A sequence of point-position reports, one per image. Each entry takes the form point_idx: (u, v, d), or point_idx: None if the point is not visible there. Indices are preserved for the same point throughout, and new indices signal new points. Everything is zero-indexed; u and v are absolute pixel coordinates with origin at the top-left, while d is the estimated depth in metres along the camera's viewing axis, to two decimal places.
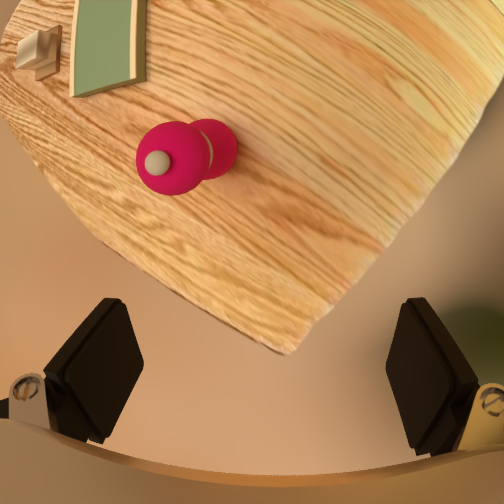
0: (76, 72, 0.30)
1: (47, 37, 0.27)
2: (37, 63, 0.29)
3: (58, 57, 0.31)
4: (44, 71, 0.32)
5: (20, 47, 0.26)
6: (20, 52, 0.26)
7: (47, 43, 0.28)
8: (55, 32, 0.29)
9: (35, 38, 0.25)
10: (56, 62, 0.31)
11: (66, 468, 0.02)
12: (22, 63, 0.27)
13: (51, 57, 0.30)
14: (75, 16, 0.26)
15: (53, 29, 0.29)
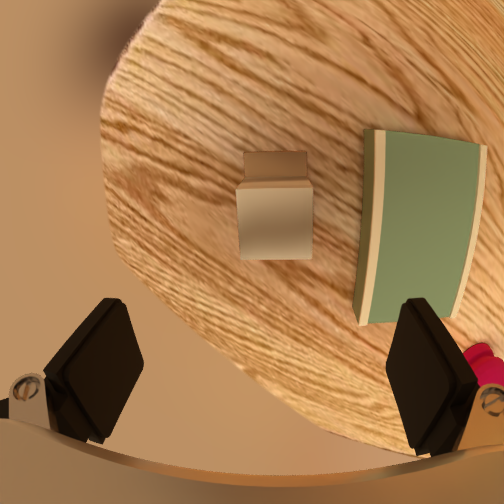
0: (375, 290, 0.24)
1: None
2: None
3: None
4: None
5: (247, 210, 0.20)
6: (253, 225, 0.20)
7: None
8: (299, 167, 0.23)
9: (304, 208, 0.19)
10: None
11: (66, 468, 0.02)
12: (263, 255, 0.21)
13: None
14: (381, 174, 0.20)
15: (292, 157, 0.23)
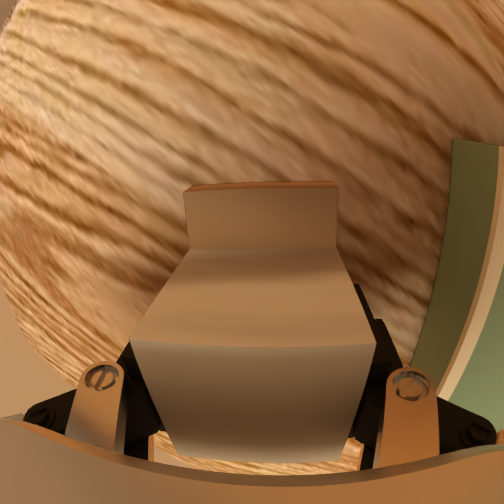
0: None
1: None
2: None
3: None
4: None
5: (173, 388, 0.06)
6: (195, 416, 0.07)
7: None
8: (319, 226, 0.10)
9: (339, 389, 0.06)
10: None
11: (66, 468, 0.02)
12: (226, 456, 0.07)
13: None
14: (501, 252, 0.07)
15: (302, 201, 0.09)
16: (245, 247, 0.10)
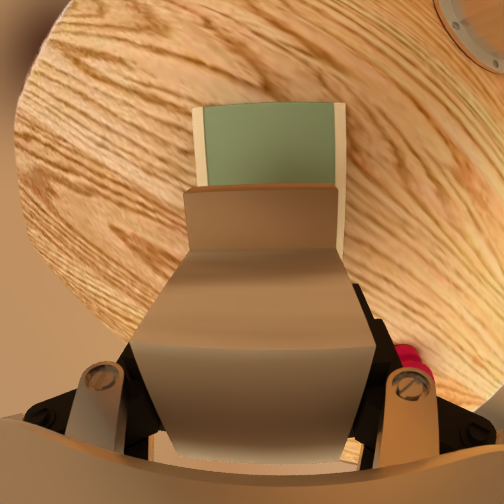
0: None
1: None
2: None
3: None
4: None
5: (174, 390, 0.06)
6: (195, 418, 0.07)
7: None
8: (319, 228, 0.10)
9: (338, 392, 0.06)
10: None
11: (66, 468, 0.02)
12: (226, 457, 0.07)
13: None
14: (201, 151, 0.21)
15: (302, 202, 0.09)
16: (245, 249, 0.10)
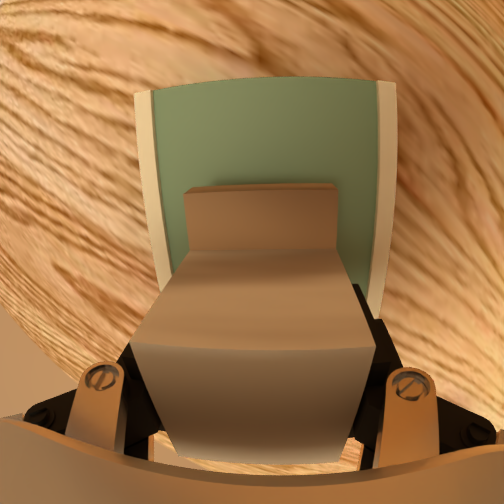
0: None
1: None
2: None
3: None
4: None
5: (173, 390, 0.06)
6: (195, 418, 0.07)
7: None
8: (319, 228, 0.10)
9: (338, 392, 0.06)
10: None
11: (66, 468, 0.02)
12: (226, 457, 0.07)
13: None
14: (150, 165, 0.12)
15: (302, 203, 0.09)
16: (245, 249, 0.10)
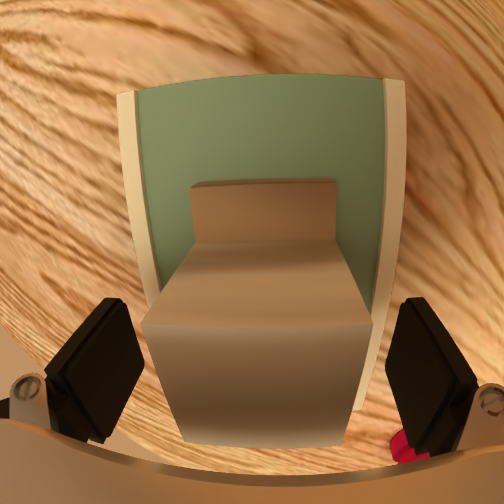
0: None
1: None
2: None
3: None
4: None
5: (182, 371, 0.07)
6: (202, 400, 0.07)
7: None
8: (318, 220, 0.10)
9: (339, 371, 0.06)
10: None
11: (66, 468, 0.02)
12: (231, 441, 0.08)
13: None
14: (134, 173, 0.11)
15: (302, 196, 0.10)
16: (248, 240, 0.11)
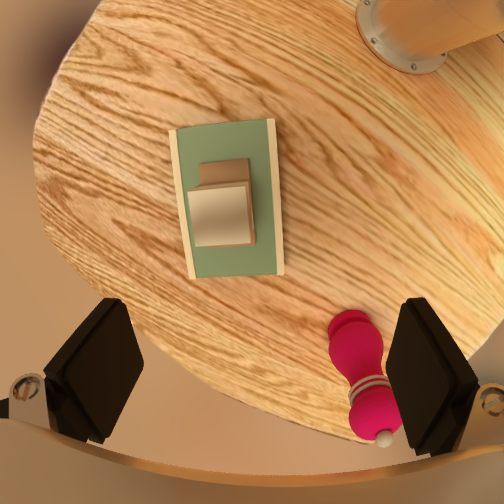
0: (194, 249, 0.33)
1: (248, 193, 0.27)
2: None
3: (253, 219, 0.31)
4: None
5: (197, 207, 0.25)
6: (202, 218, 0.26)
7: (249, 205, 0.28)
8: (242, 172, 0.29)
9: (239, 202, 0.25)
10: (253, 229, 0.31)
11: (66, 468, 0.02)
12: (211, 241, 0.26)
13: (252, 226, 0.30)
14: (176, 160, 0.30)
15: (236, 164, 0.29)
16: (219, 181, 0.29)
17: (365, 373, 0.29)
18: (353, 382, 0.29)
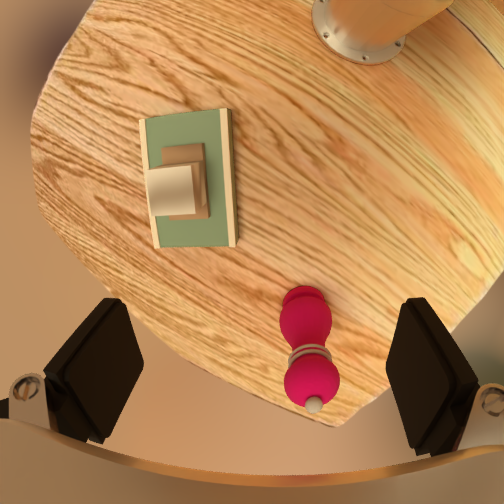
0: (158, 221, 0.37)
1: (198, 172, 0.31)
2: None
3: (207, 195, 0.35)
4: None
5: (153, 183, 0.29)
6: (157, 192, 0.30)
7: (199, 182, 0.31)
8: (197, 154, 0.33)
9: (186, 179, 0.29)
10: (206, 204, 0.35)
11: (66, 468, 0.02)
12: (164, 212, 0.30)
13: (204, 201, 0.33)
14: (144, 145, 0.33)
15: (192, 148, 0.32)
16: (177, 162, 0.33)
17: (304, 342, 0.33)
18: (293, 350, 0.33)
